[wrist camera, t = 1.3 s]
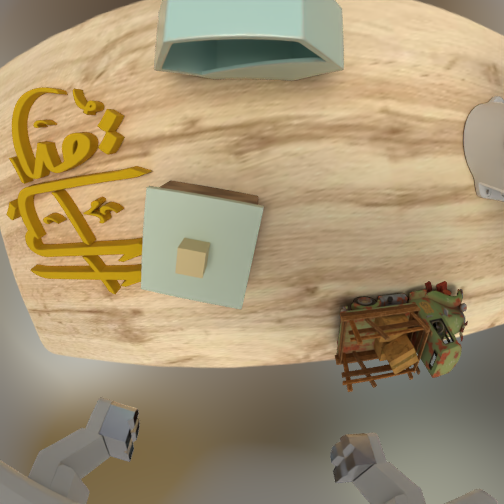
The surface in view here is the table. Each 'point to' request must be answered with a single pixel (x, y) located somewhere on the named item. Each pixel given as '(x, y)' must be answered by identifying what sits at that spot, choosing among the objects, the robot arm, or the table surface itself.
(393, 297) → the toy truck
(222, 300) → the lid
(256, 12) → the planter
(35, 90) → the decorative art
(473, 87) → the table surface
